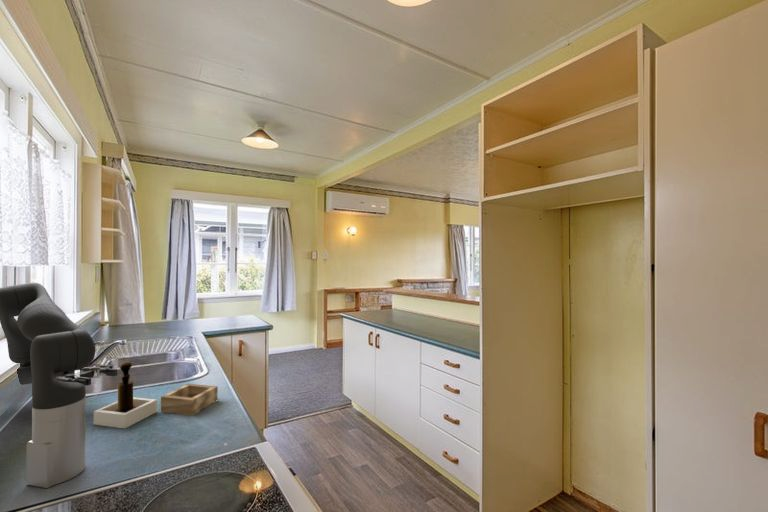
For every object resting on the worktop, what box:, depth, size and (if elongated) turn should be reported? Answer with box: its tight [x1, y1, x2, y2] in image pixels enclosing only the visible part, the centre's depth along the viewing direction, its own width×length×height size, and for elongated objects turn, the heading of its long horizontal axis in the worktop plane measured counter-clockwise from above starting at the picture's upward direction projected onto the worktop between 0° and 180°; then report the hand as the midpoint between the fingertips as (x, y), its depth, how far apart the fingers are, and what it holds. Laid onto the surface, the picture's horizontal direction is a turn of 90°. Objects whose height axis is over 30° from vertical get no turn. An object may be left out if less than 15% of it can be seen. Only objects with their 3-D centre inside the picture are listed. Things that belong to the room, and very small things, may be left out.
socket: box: [160, 383, 219, 416], centre depth 120 cm, size 12×12×5 cm
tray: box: [93, 396, 158, 429], centre depth 111 cm, size 11×11×4 cm
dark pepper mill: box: [115, 360, 137, 413], centre depth 111 cm, size 7×6×18 cm
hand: (103, 377), depth 113 cm, fingers open, 8 cm apart
